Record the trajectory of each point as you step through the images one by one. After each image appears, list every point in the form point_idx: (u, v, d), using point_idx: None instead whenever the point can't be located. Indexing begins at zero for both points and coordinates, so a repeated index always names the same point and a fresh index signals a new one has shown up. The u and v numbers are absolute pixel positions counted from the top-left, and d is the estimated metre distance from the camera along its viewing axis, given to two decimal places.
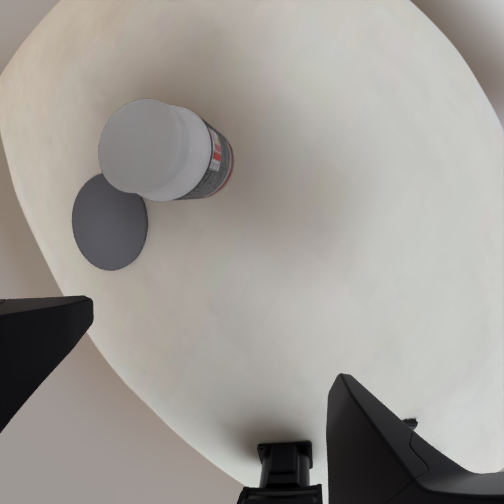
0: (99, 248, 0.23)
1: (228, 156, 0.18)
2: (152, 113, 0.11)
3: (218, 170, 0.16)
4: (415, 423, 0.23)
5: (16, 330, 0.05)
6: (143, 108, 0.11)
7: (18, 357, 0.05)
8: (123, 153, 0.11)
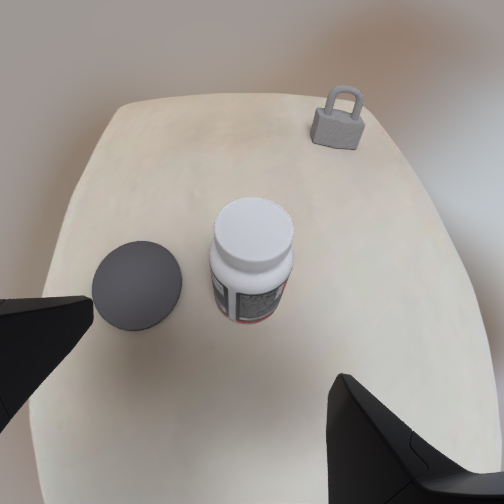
0: (112, 296, 0.22)
1: (280, 298, 0.21)
2: (278, 216, 0.16)
3: (275, 298, 0.19)
4: None
5: (17, 330, 0.05)
6: (273, 209, 0.16)
7: (18, 357, 0.05)
8: (241, 225, 0.16)
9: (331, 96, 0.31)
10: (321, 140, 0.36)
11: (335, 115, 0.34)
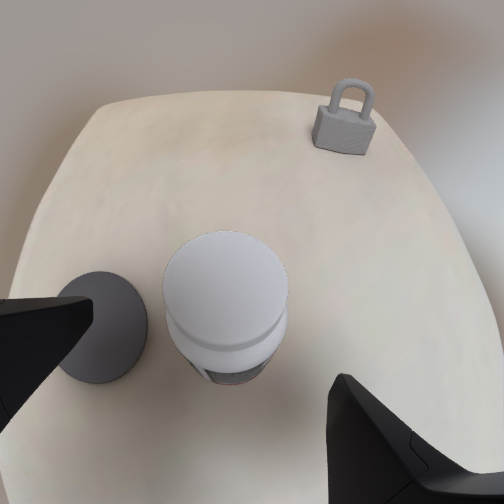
0: None
1: None
2: (264, 264, 0.10)
3: (261, 367, 0.13)
4: None
5: (16, 330, 0.05)
6: (257, 251, 0.10)
7: (18, 357, 0.05)
8: (204, 281, 0.10)
9: (337, 91, 0.26)
10: (325, 144, 0.31)
11: (341, 113, 0.28)
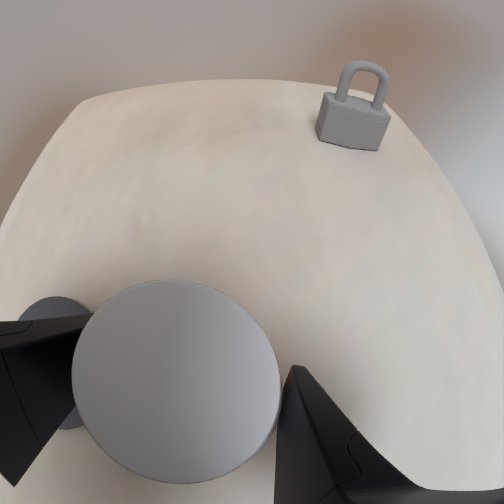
0: None
1: None
2: (238, 348, 0.05)
3: None
4: None
5: (50, 354, 0.05)
6: (225, 322, 0.06)
7: (52, 384, 0.05)
8: (131, 376, 0.05)
9: (346, 75, 0.20)
10: (331, 137, 0.26)
11: (350, 102, 0.23)
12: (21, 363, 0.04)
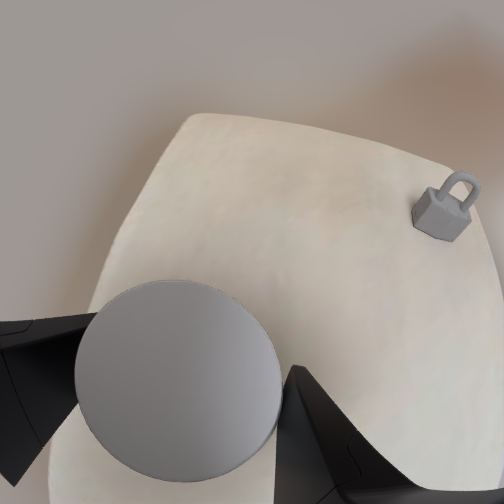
0: None
1: None
2: (239, 348, 0.05)
3: None
4: None
5: (49, 354, 0.05)
6: (227, 322, 0.06)
7: (52, 384, 0.05)
8: (134, 375, 0.05)
9: (450, 182, 0.23)
10: (423, 226, 0.29)
11: (446, 201, 0.26)
12: (21, 363, 0.04)
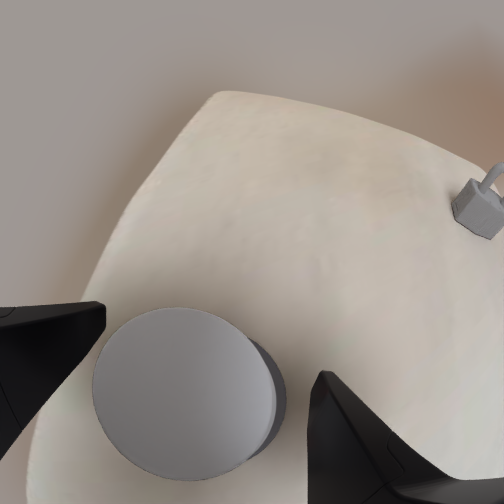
0: None
1: None
2: (237, 368, 0.06)
3: None
4: None
5: (28, 339, 0.05)
6: (226, 345, 0.06)
7: (30, 367, 0.05)
8: (146, 391, 0.06)
9: (494, 173, 0.18)
10: (465, 220, 0.24)
11: (488, 195, 0.21)
12: (1, 345, 0.04)
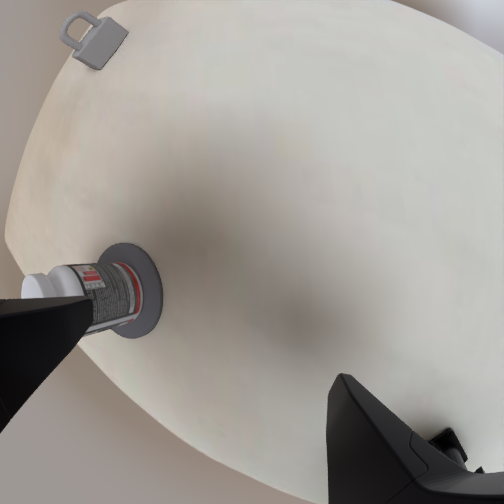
0: None
1: (116, 271, 0.20)
2: (28, 284, 0.14)
3: (105, 285, 0.18)
4: None
5: (16, 330, 0.05)
6: (25, 286, 0.14)
7: (18, 357, 0.05)
8: None
9: (65, 40, 0.19)
10: (102, 61, 0.25)
11: (85, 41, 0.22)
12: None
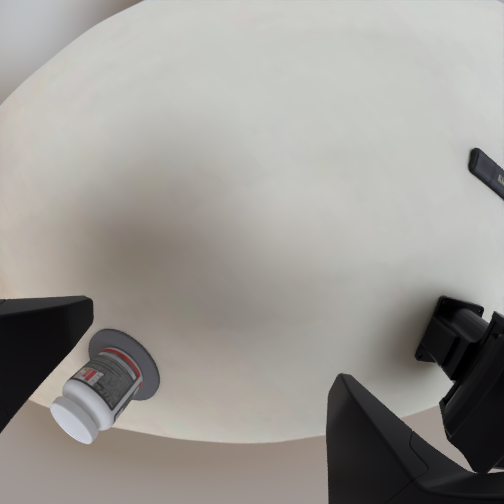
0: None
1: (104, 358, 0.21)
2: (55, 411, 0.15)
3: (103, 373, 0.19)
4: (476, 151, 0.16)
5: (16, 330, 0.05)
6: (54, 413, 0.15)
7: (18, 357, 0.05)
8: (75, 431, 0.15)
9: None
10: None
11: None
12: None
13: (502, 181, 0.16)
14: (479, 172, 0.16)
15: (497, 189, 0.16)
